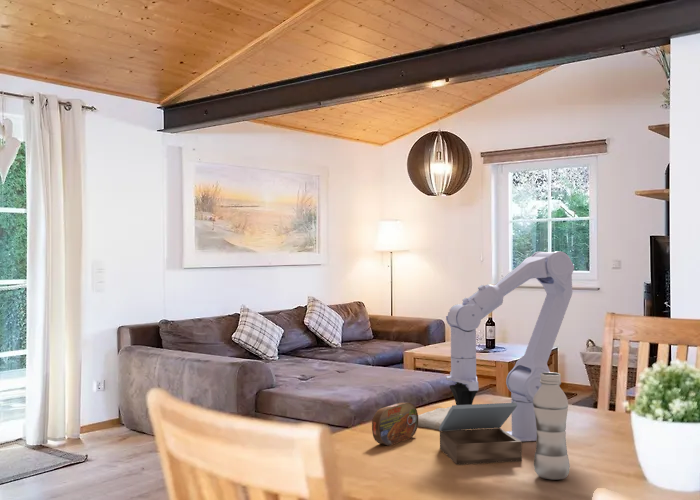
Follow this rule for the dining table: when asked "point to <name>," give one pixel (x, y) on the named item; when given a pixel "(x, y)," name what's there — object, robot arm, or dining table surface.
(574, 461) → the dining table surface
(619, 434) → the dining table surface
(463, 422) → the lid
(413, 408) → the tin
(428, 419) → the washcloth
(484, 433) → the box
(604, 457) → the dining table surface
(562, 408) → the plastic bottle
